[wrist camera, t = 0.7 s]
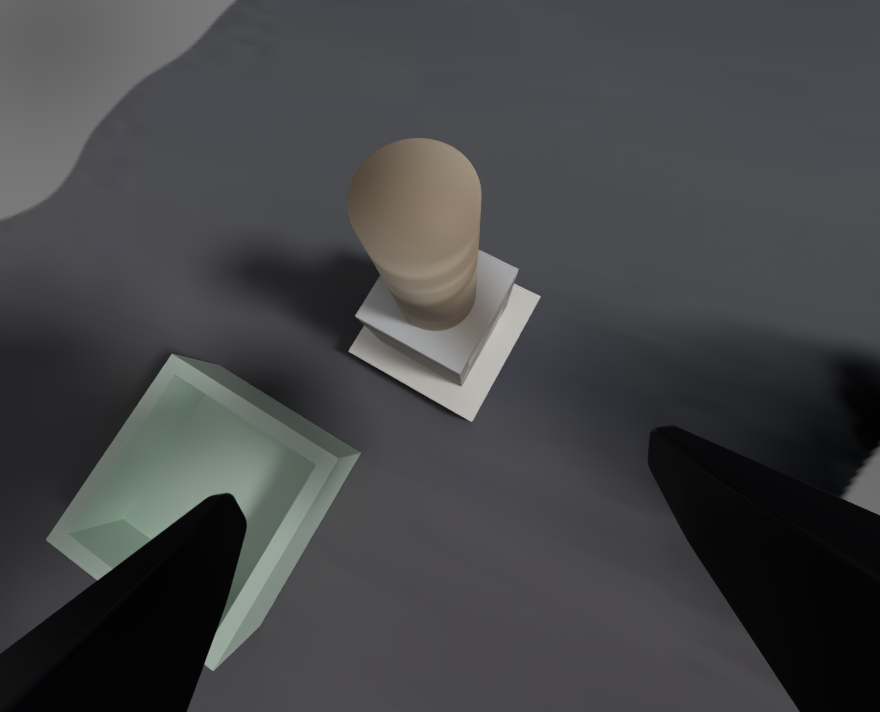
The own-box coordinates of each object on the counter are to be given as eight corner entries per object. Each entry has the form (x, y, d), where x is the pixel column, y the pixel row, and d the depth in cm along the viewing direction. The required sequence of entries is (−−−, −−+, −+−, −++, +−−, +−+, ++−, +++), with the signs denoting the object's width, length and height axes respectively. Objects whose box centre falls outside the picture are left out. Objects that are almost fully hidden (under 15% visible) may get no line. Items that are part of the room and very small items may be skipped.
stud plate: (471, 422, 22) (472, 421, 16) (356, 356, 23) (322, 335, 17) (536, 304, 23) (556, 268, 17) (421, 247, 24) (408, 196, 18)
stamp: (461, 386, 20) (452, 334, 9) (381, 341, 21) (273, 238, 9) (506, 306, 21) (555, 156, 9) (427, 265, 22) (379, 80, 10)
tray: (259, 626, 20) (213, 671, 17) (117, 520, 22) (45, 539, 18) (360, 452, 22) (338, 458, 18) (219, 365, 23) (172, 353, 20)
